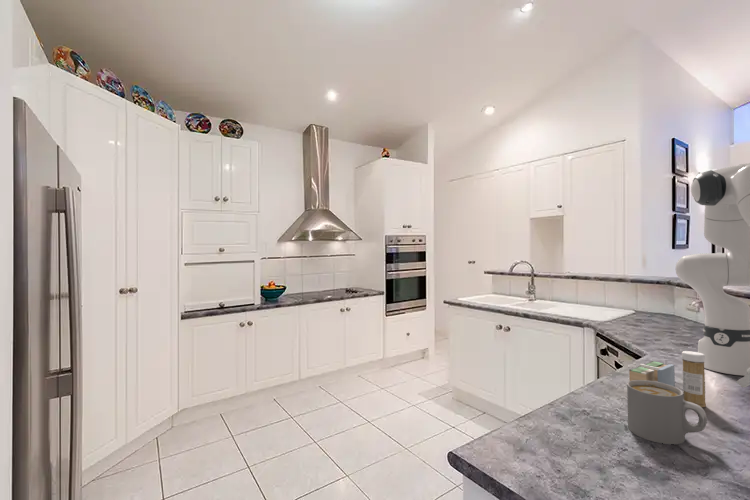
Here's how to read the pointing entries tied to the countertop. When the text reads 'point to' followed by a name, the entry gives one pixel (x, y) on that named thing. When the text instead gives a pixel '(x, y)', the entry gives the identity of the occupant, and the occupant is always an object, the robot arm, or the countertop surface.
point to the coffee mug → (660, 412)
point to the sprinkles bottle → (694, 377)
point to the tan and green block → (645, 372)
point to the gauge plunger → (664, 374)
